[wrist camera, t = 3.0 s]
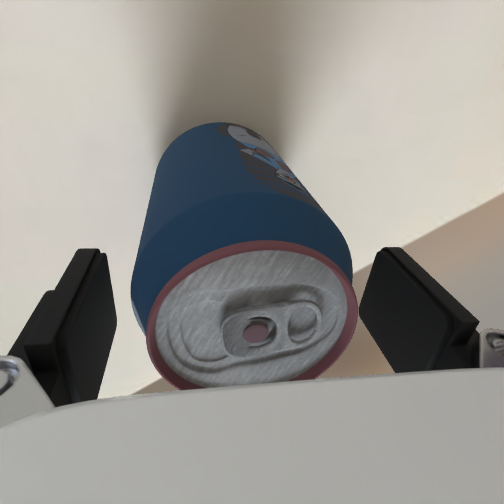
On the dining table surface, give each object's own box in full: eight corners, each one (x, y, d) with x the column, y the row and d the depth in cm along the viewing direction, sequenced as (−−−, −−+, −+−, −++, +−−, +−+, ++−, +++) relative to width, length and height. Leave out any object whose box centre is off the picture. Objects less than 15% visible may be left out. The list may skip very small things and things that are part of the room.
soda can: (169, 242, 20) (154, 434, 10) (142, 124, 17) (77, 247, 7) (279, 227, 21) (363, 393, 11) (277, 111, 17) (402, 203, 7)
